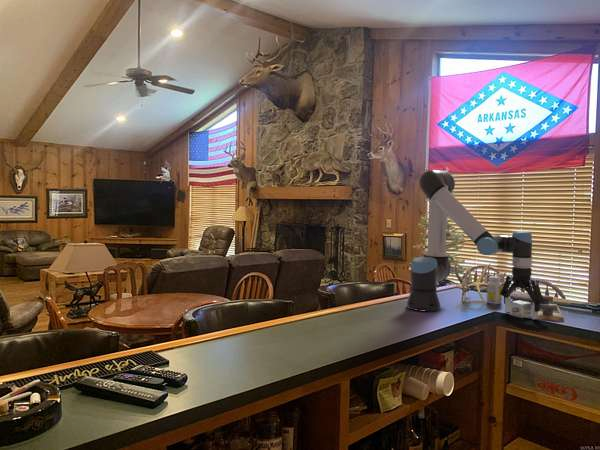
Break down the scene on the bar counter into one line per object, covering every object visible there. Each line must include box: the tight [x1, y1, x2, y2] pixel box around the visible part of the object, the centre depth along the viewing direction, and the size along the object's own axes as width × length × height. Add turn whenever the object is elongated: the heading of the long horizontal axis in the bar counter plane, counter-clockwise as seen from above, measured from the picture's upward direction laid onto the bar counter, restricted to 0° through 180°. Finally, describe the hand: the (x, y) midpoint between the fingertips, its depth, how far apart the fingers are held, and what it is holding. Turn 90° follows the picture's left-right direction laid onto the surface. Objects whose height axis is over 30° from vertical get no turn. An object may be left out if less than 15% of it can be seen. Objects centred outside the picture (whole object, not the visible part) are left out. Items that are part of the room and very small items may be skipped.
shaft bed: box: [532, 295, 565, 322], centre depth 201 cm, size 10×26×6 cm, turn 156°
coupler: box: [509, 299, 533, 319], centre depth 197 cm, size 6×9×6 cm, turn 116°
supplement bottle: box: [486, 275, 503, 305], centre depth 221 cm, size 7×7×13 cm
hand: (520, 315), depth 197 cm, fingers open, 13 cm apart
